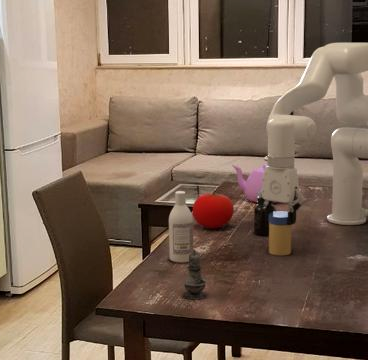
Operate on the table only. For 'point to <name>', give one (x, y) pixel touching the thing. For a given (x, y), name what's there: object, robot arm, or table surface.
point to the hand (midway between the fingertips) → (280, 221)
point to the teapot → (251, 182)
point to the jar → (279, 239)
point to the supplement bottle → (261, 219)
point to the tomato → (213, 210)
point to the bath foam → (180, 230)
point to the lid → (278, 218)
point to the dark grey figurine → (194, 278)
